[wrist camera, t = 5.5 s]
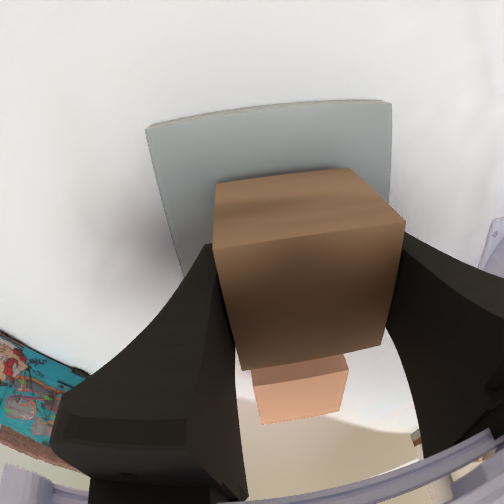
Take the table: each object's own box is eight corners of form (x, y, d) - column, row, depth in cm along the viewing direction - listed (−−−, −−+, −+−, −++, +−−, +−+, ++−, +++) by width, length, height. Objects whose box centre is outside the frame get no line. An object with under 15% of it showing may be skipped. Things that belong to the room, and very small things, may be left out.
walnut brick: (345, 273, 13) (380, 345, 9) (235, 290, 13) (242, 370, 9) (349, 167, 10) (405, 221, 7) (215, 184, 10) (212, 249, 7)
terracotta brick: (324, 360, 19) (339, 411, 16) (255, 371, 19) (261, 424, 16) (328, 312, 17) (348, 369, 14) (246, 325, 17) (252, 386, 14)
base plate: (370, 277, 16) (377, 289, 15) (198, 304, 16) (197, 318, 15) (379, 100, 11) (391, 103, 10) (150, 124, 11) (144, 129, 10)
